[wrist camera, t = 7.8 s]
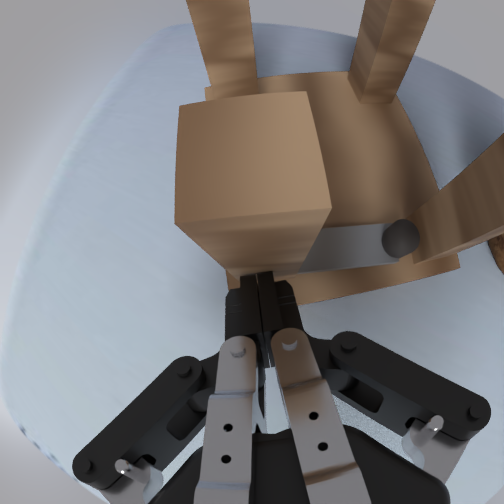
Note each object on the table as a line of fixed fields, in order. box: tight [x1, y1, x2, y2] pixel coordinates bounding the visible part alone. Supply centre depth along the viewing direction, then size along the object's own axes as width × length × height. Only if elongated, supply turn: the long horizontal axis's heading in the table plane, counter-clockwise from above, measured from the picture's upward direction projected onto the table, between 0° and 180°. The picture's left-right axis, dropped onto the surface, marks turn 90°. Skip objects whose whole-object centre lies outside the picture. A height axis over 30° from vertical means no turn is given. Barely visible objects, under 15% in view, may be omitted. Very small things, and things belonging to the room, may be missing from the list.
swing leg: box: [175, 91, 420, 282], centre depth 11 cm, size 10×3×12 cm, turn 95°
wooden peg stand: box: [186, 0, 504, 305], centre depth 14 cm, size 16×18×14 cm
